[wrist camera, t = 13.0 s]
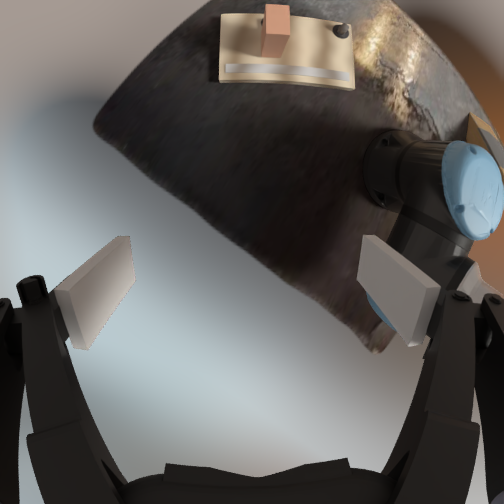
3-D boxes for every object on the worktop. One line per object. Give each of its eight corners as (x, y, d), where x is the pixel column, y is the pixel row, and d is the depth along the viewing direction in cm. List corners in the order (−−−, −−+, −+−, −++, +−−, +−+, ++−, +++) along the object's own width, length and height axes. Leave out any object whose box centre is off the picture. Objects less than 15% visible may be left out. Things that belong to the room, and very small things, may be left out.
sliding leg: (279, 20, 34) (288, -8, 24) (280, 57, 36) (290, 35, 27) (261, 19, 34) (265, -9, 24) (261, 57, 36) (266, 33, 27)
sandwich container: (490, 126, 41) (536, 130, 27) (481, 187, 46) (527, 202, 32) (468, 110, 41) (517, 109, 27) (459, 175, 46) (508, 188, 32)
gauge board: (347, 28, 36) (355, 20, 32) (350, 90, 40) (360, 86, 36) (221, 18, 35) (220, 7, 31) (219, 82, 40) (217, 76, 36)
